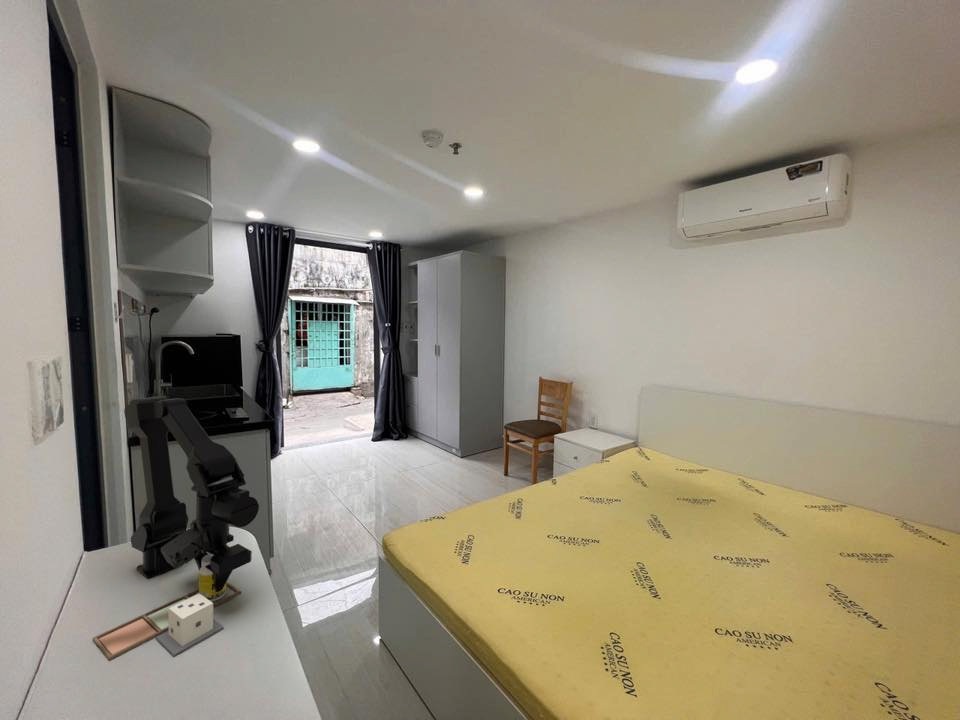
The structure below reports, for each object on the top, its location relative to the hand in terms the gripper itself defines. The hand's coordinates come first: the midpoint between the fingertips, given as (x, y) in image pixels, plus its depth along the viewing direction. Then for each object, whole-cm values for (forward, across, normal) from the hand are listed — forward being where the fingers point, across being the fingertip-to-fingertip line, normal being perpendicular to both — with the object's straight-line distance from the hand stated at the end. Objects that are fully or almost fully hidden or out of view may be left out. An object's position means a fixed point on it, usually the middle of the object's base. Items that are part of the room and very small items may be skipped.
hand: (212, 586), depth 84 cm
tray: (+2, 0, -7) cm, 7 cm away
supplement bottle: (+2, 0, 0) cm, 2 cm away
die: (+2, +8, -7) cm, 11 cm away
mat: (+2, +8, -8) cm, 11 cm away
